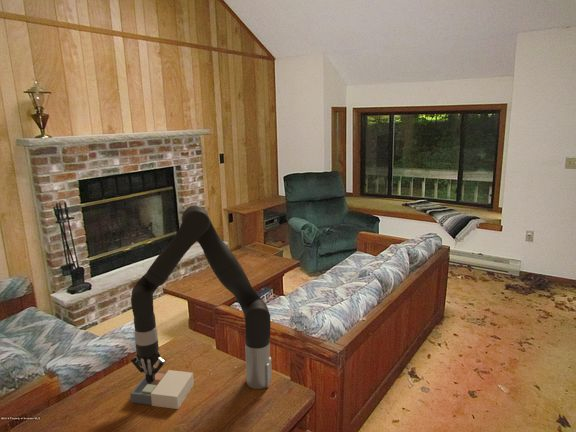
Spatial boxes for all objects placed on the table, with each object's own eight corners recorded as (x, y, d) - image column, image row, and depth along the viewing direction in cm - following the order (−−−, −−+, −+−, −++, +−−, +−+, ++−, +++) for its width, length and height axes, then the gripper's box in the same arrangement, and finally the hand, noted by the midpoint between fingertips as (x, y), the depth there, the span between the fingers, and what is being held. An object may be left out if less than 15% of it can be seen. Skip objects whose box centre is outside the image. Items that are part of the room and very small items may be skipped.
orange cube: (165, 373, 161) (156, 372, 162) (160, 379, 157) (151, 378, 158) (166, 382, 162) (157, 381, 163) (161, 389, 158) (152, 388, 159)
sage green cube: (156, 385, 154) (147, 384, 155) (150, 392, 150) (141, 391, 151) (157, 394, 155) (148, 393, 156) (151, 401, 151) (142, 400, 152)
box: (169, 381, 163) (168, 372, 162) (151, 405, 150) (150, 396, 149) (150, 379, 165) (149, 370, 164) (131, 403, 151) (130, 393, 150)
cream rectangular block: (193, 384, 162) (193, 372, 160) (178, 409, 148) (177, 396, 147) (169, 381, 163) (168, 370, 162) (151, 405, 150) (150, 393, 149)
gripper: (169, 335, 150) (172, 377, 154) (134, 331, 152) (139, 373, 156) (159, 346, 143) (163, 390, 147) (123, 343, 145) (128, 386, 149)
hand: (150, 381), depth 152 cm, fingers closed
